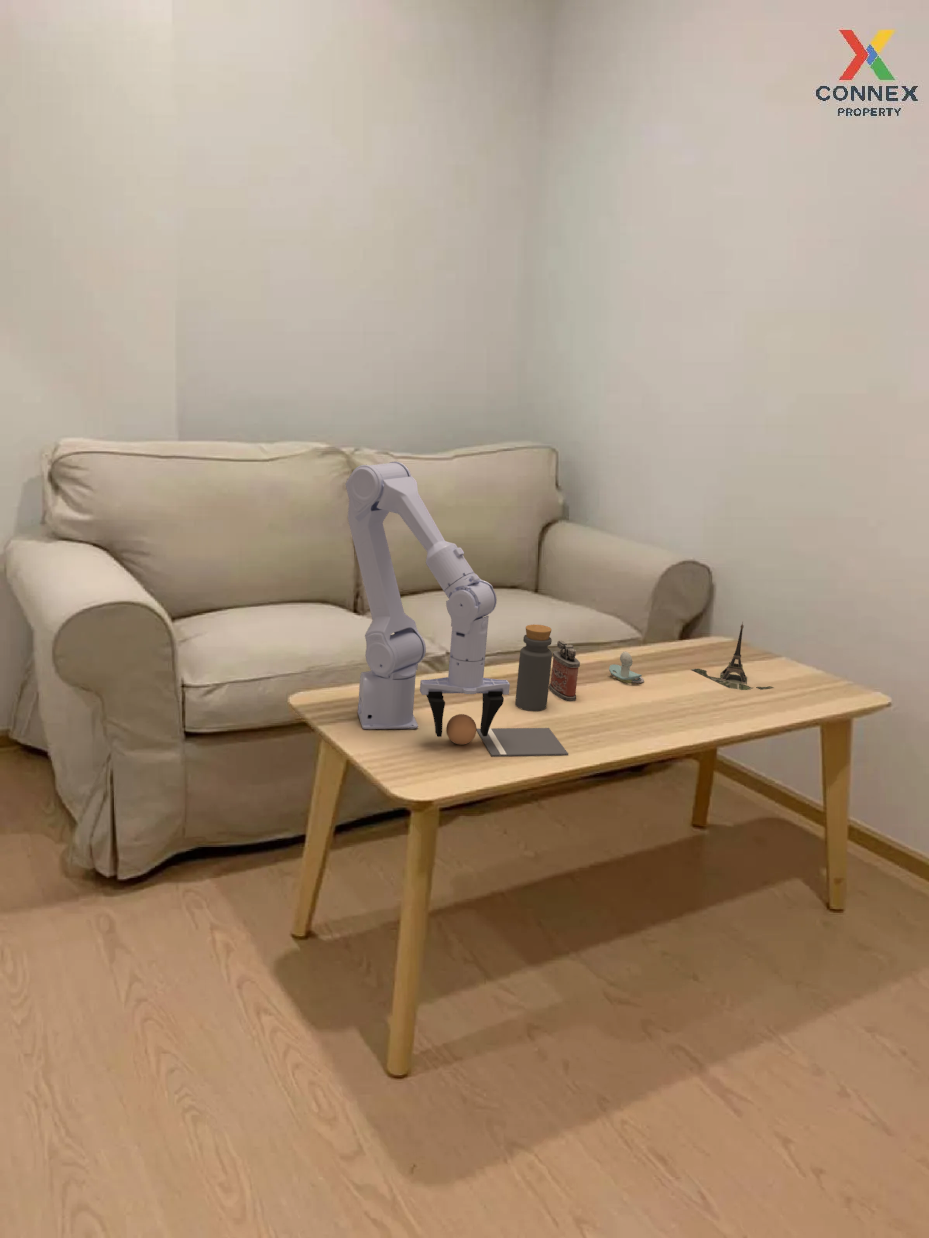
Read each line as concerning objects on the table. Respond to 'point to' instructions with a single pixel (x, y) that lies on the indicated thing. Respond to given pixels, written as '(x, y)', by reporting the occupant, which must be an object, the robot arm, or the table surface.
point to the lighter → (564, 672)
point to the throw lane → (522, 742)
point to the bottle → (534, 669)
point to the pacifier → (625, 670)
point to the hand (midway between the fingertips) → (461, 734)
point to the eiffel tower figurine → (731, 679)
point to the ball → (461, 729)
